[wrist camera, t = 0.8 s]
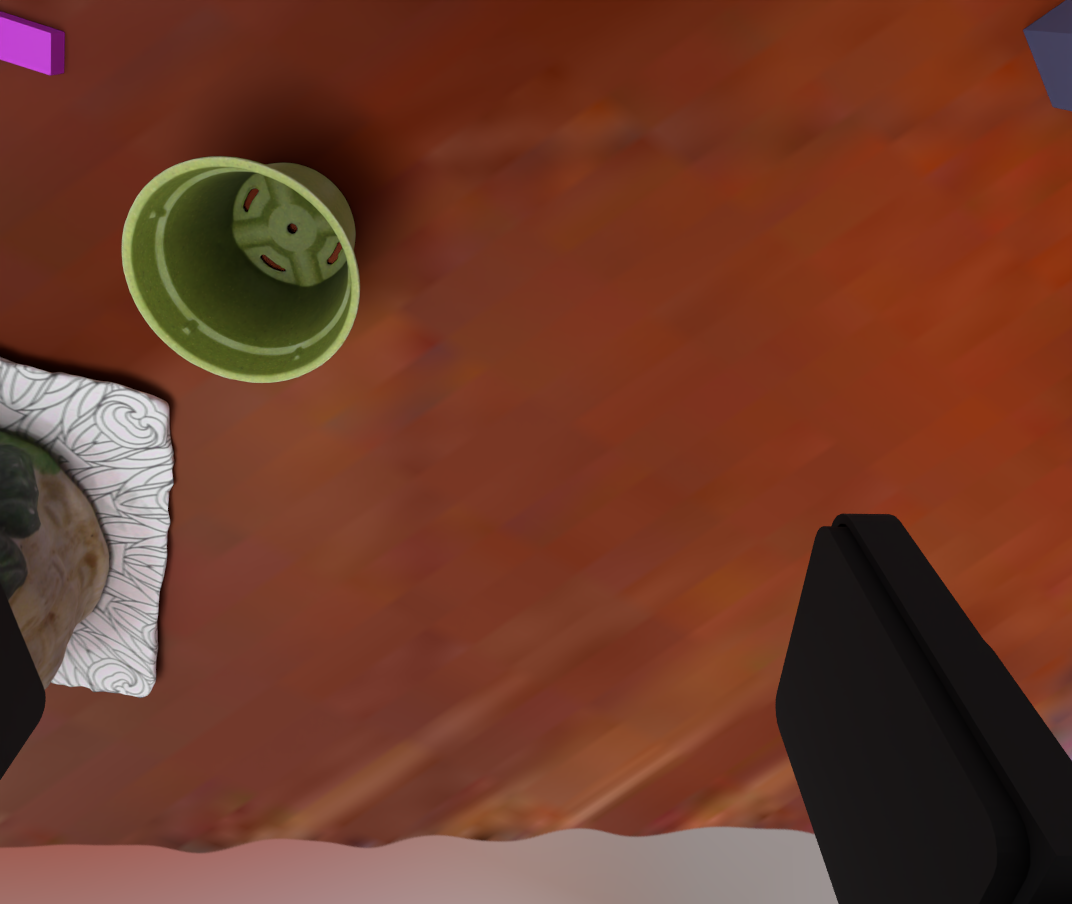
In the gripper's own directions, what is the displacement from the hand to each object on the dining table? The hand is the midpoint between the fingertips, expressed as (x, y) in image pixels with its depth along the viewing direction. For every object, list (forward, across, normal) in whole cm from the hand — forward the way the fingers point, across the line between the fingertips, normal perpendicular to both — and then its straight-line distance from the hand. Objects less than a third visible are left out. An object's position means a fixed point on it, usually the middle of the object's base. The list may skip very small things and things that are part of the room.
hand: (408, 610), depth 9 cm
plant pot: (+33, +10, +4) cm, 35 cm away
